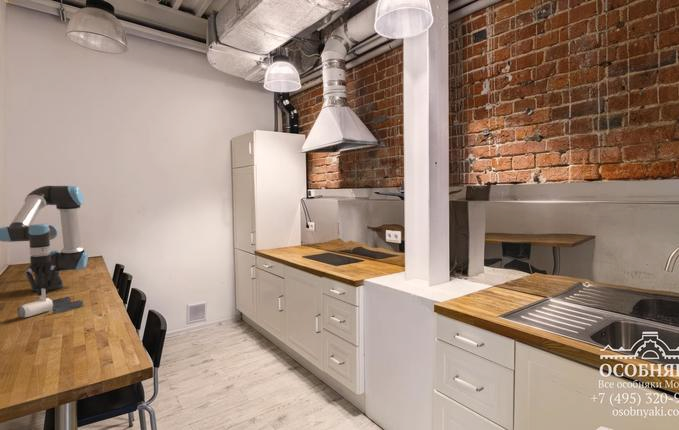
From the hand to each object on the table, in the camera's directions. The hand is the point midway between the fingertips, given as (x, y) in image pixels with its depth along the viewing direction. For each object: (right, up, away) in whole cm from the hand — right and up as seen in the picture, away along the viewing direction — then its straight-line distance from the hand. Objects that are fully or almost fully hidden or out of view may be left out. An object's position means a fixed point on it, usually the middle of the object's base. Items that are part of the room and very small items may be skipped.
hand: (42, 301), depth 167 cm
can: (0, -2, +3) cm, 4 cm away
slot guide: (+4, -5, +7) cm, 10 cm away
